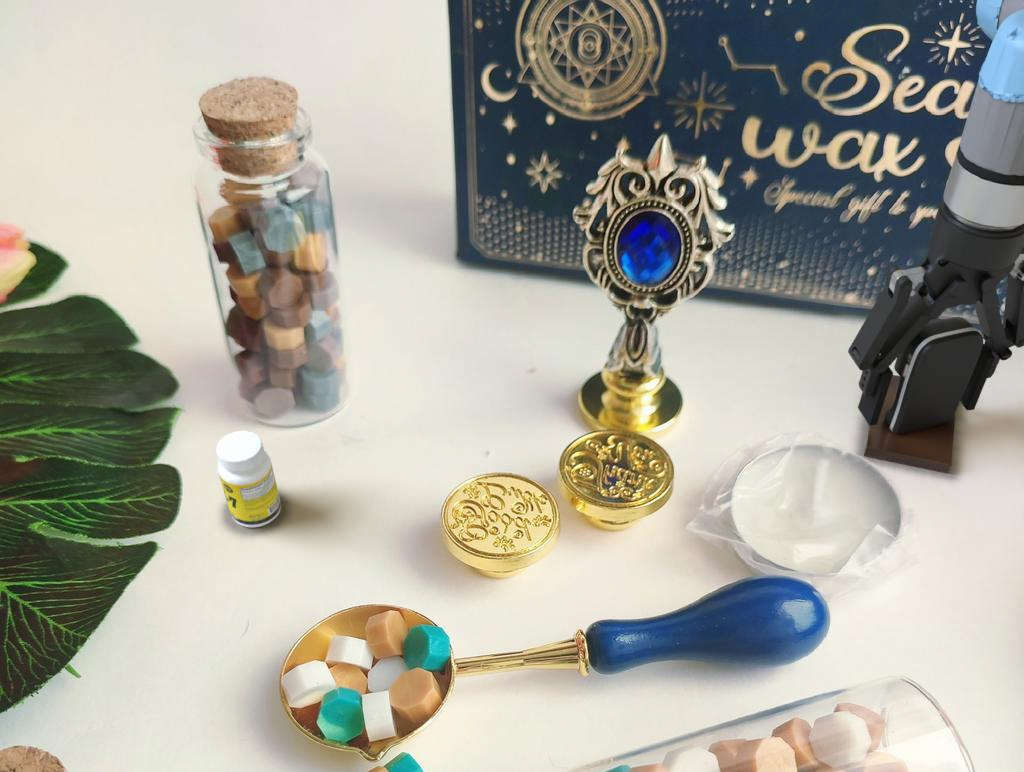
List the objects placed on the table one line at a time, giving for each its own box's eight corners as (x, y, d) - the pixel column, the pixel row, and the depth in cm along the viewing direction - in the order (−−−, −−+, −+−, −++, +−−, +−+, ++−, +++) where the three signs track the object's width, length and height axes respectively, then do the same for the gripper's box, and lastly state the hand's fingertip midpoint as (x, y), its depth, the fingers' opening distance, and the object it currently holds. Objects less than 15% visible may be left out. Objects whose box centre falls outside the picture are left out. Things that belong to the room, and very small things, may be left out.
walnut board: (874, 380, 113) (877, 371, 112) (954, 395, 111) (957, 386, 110) (863, 456, 105) (866, 447, 104) (948, 473, 104) (951, 464, 103)
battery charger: (933, 399, 109) (967, 306, 101) (955, 423, 107) (991, 330, 98) (872, 413, 108) (902, 320, 99) (893, 438, 105) (924, 345, 97)
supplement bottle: (225, 501, 102) (206, 435, 96) (273, 486, 103) (258, 421, 97) (238, 535, 99) (219, 470, 93) (288, 519, 100) (272, 454, 94)
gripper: (1082, 171, 94) (999, 369, 111) (844, 200, 91) (795, 400, 108) (1133, 216, 89) (1038, 417, 106) (882, 249, 86) (825, 450, 103)
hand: (915, 408), depth 107 cm, fingers open, 10 cm apart
